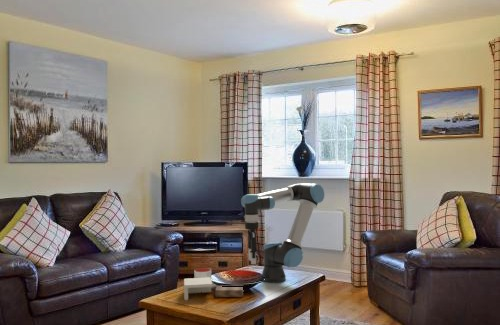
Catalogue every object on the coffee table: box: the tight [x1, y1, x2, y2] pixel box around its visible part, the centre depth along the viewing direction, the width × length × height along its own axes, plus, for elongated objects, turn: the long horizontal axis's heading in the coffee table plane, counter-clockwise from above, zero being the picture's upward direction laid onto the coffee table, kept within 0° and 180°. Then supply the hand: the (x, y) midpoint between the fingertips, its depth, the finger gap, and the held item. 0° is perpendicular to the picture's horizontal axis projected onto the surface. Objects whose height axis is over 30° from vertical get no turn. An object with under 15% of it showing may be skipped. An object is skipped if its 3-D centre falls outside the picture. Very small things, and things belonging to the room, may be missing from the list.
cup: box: [193, 267, 212, 278], centre depth 274 cm, size 10×10×10 cm
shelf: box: [183, 276, 213, 301], centre depth 256 cm, size 15×14×8 cm
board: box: [214, 285, 245, 298], centre depth 258 cm, size 15×9×4 cm, turn 88°
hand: (252, 262), depth 260 cm, fingers open, 9 cm apart
